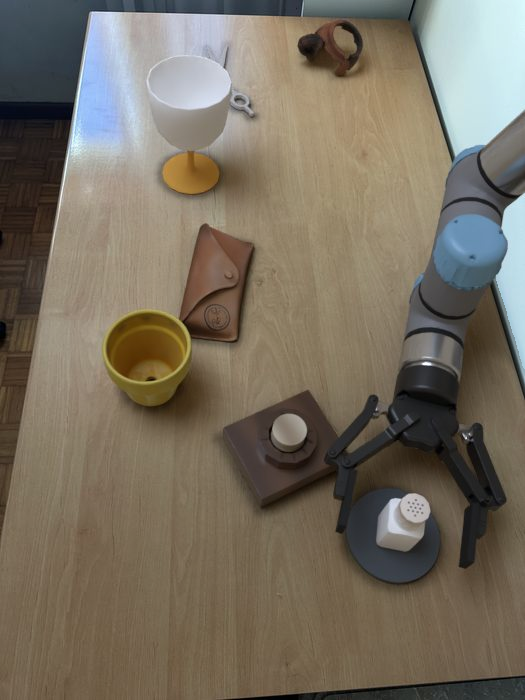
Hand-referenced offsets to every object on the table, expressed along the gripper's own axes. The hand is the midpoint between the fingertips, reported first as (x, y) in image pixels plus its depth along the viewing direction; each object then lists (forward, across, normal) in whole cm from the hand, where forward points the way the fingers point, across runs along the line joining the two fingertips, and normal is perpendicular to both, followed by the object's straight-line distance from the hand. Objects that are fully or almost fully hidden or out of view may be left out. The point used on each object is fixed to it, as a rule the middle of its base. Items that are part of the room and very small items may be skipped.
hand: (403, 547), depth 70 cm
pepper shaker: (-3, 0, -6) cm, 7 cm away
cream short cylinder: (-10, +15, -2) cm, 18 cm away
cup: (-51, +40, -7) cm, 66 cm away
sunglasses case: (-31, +30, -7) cm, 44 cm away
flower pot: (-14, +33, -7) cm, 37 cm away
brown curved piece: (-87, +26, -7) cm, 91 cm away
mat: (-3, 0, -7) cm, 7 cm away
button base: (-10, +15, -7) cm, 19 cm away
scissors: (-75, +43, -6) cm, 87 cm away
